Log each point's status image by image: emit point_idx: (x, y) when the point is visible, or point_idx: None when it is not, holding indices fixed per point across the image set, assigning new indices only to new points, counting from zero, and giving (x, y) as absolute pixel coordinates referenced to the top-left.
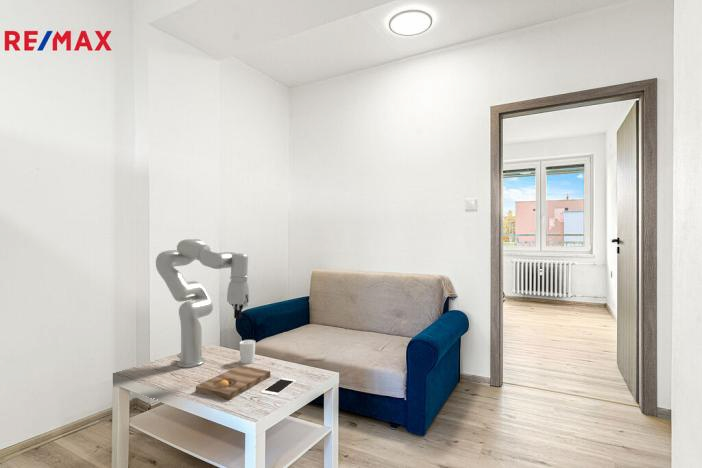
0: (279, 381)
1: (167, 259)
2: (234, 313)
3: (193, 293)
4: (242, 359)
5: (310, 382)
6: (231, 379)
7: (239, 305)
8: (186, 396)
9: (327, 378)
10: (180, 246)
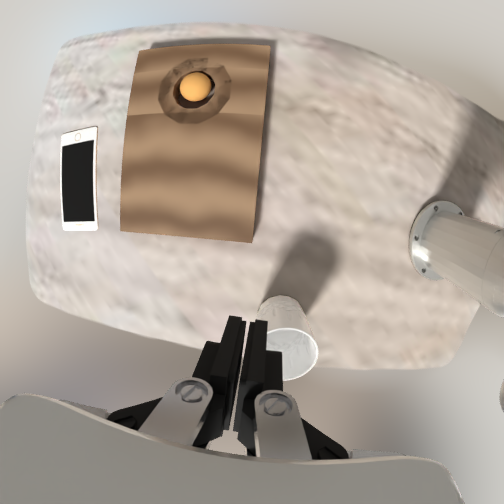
0: (88, 205)
1: None
2: (260, 348)
3: None
4: (286, 301)
5: (39, 233)
6: (192, 120)
7: (137, 429)
8: (273, 29)
9: (29, 266)
10: None
